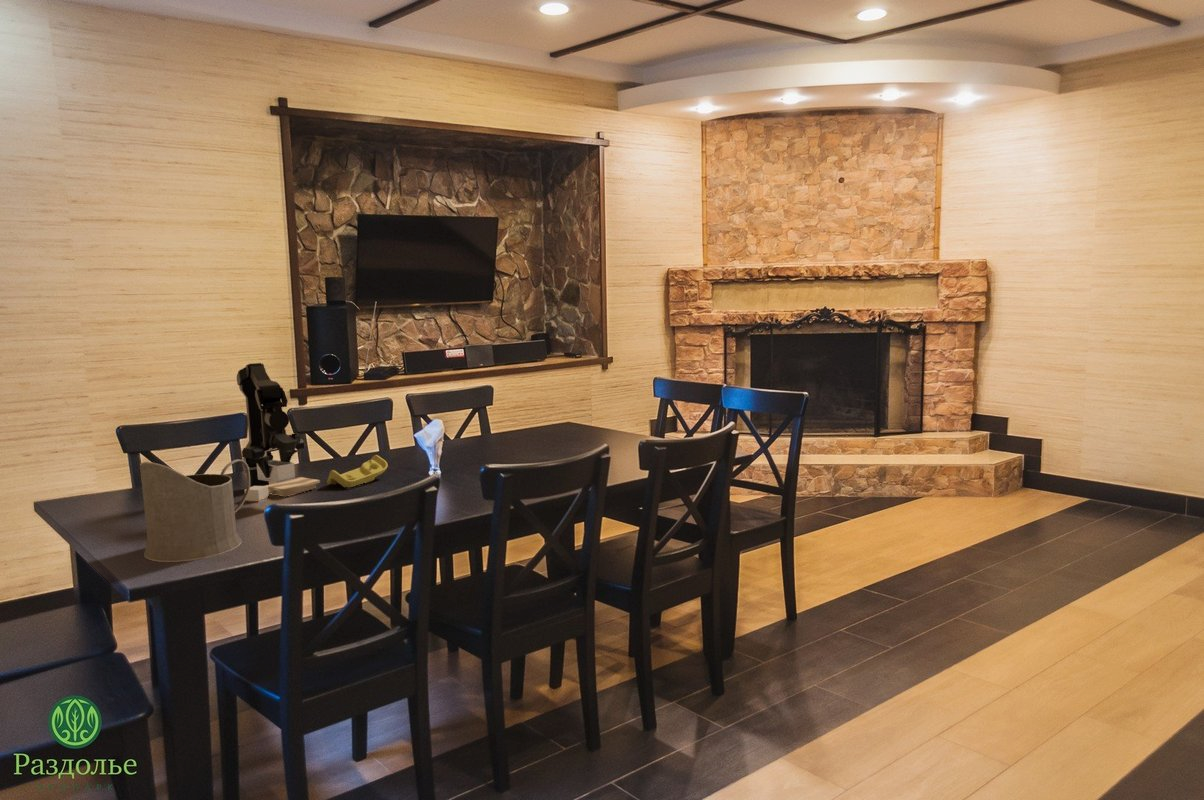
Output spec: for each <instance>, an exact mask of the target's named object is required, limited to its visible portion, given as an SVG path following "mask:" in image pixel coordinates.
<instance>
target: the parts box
mask: <svg viewBox="0 0 1204 800" xmlns="http://www.w3.org/2000/svg"><path fill="white" fill-rule="evenodd" d="M243 492H244V493H245V492H246V489H245V488H244V491H243ZM268 496H269V497H270V494H269V489H268V486H252V487H250V490H249V493H248V496H247V498H246V500H261V499H264V498H266V497H268Z"/></svg>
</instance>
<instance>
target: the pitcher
mask: <svg viewBox="0 0 1204 800" xmlns="http://www.w3.org/2000/svg"><path fill="white" fill-rule="evenodd" d="M238 462H241V463H243V464H244V466H245V468H246V487H247V489H246V492H245V491H244V495H243V497H242V499H241V500H240V502H239V504H238V505H237V506H236V507H235V502H234V501H235V500H234V490H233V488H234V487H233V479H232V477H231V476H229V475H226V474H225V473H226V471H227V470H228V469H229V468H230V467H231V466H232V465H233V464H235V463H238ZM139 469H140V471H139V472H140V480H141V489H142V497H143V498H142V499H143V507H144V517H145V519H144V520H145V527H146V537H147V543H146V547H145V550H144V553H143V554H144V558H145V559H148V560H150V561H154V562H160V563H177V562H178V563H179V562H190V561H196V560H203V559H207V558H208V559H209V558H211V557H215V556H220V555H222V554H225V553H228V552H231V551H233V550H235V549H236V548H238V547H240V545H241V544H242V539H241V537H240V536H239V533H238V531H237V524H236V513H237V512H238V511H239V510H240V509H241V508H242V507H243V504H244V503H245V500H246V498H247V496H248V493H249V490H250V471H249V467H248V465H247V463H246V462H245V461H244V460H243V459H238V458H237V459H234V460H232V461H230V462H229V463H227V464H226V465H225V466H224V467H223V468H222V470H221V472H220V473H219V474H216V473H201V474H188V475H184V474H182V473H181V472H179V471H176V470H175V469H173V468H171V467H169V466H167V465H165V464H164V465H163V464H160V463H156V462H152V461H151V462H149V461H143V462H141V463H139Z"/></svg>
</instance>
